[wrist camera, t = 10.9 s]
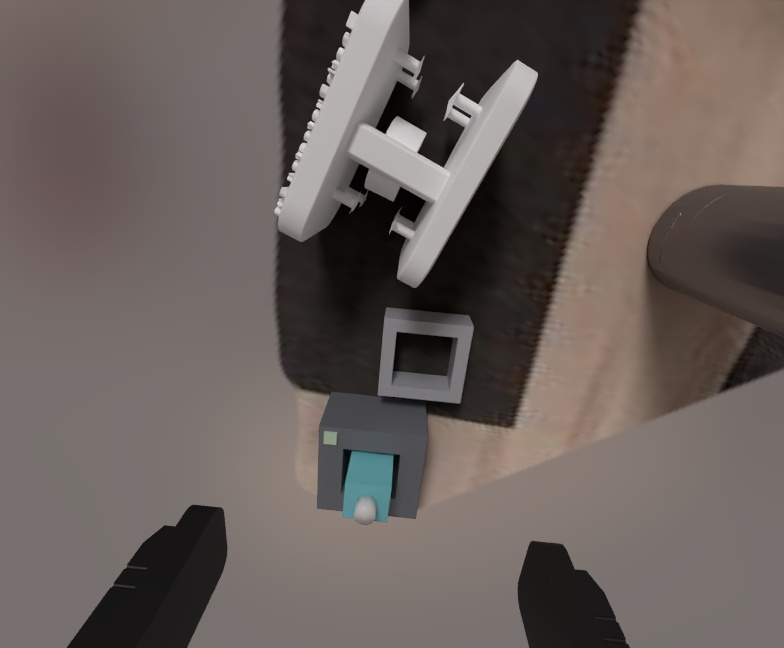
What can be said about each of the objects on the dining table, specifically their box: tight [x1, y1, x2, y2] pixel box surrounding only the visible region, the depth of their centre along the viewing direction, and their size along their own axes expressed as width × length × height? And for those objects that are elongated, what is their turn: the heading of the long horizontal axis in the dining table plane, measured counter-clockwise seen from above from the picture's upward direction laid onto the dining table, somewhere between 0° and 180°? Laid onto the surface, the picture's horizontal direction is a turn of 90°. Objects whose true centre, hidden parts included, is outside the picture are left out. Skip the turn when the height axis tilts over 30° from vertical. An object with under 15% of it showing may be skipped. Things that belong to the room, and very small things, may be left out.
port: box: [317, 392, 428, 519], centre depth 40 cm, size 10×10×6 cm
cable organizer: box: [274, 0, 538, 288], centre depth 27 cm, size 15×11×12 cm
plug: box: [343, 450, 394, 525], centre depth 37 cm, size 4×4×10 cm
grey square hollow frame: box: [378, 307, 474, 403], centre depth 37 cm, size 8×8×3 cm
